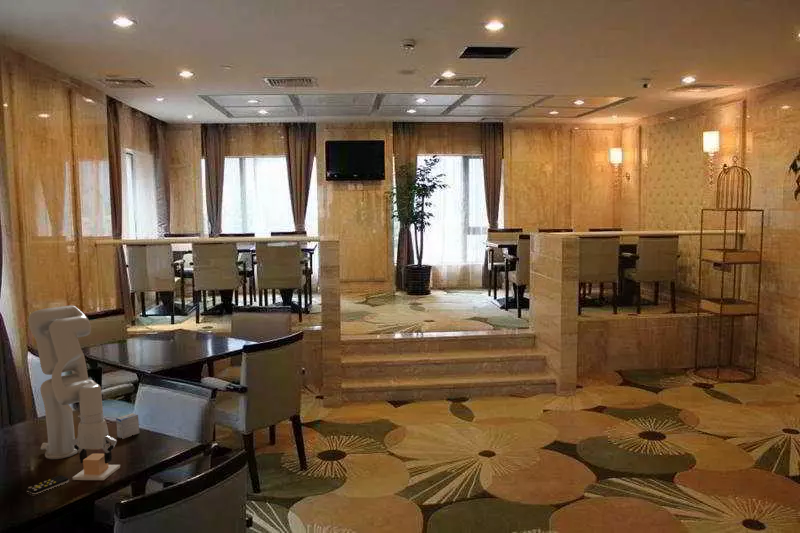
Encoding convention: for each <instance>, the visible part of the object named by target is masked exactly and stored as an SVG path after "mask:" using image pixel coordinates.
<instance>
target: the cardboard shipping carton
mask: <svg viewBox="0 0 800 533" xmlns="http://www.w3.org/2000/svg"><path fill="white" fill-rule="evenodd" d="M82 464H83V465H82V466H83V469H84V474H96V475H99V474H101V473H102V472H103V471H105V470H106V469H107V468H109V465H110V464H109V462H108V463H105V458H104V453H91V454H90V455H87V458H85V459H84V460H83V463H82Z"/></svg>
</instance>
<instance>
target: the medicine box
mask: <svg viewBox="0 0 800 533" xmlns="http://www.w3.org/2000/svg"><path fill="white" fill-rule="evenodd" d="M115 420H116V435H117V437H118V439H121V438H122V440H124V439H127V438H129V437H132V435H133V436H135V435H138V434H140V422H139V415H138V414H137V413H133V412H132V413H129V414H125V415H122V416H119V417H117V418H115Z"/></svg>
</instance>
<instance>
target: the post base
mask: <svg viewBox="0 0 800 533" xmlns="http://www.w3.org/2000/svg"><path fill="white" fill-rule="evenodd" d="M108 465H109V468H107V469H106V470H105V471H103V472H102V473H101V474H99V475H96V474H84V468H83V469H82V470H81V471H80V472H77V474H75V475H74V476H72V481H105V480H106V479H107V478H109V477H110V476H111V475H112V474H114V473H115V472H116V471H118V470H119V469H120V468H121V464H108Z"/></svg>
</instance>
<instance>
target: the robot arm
mask: <svg viewBox="0 0 800 533" xmlns="http://www.w3.org/2000/svg"><path fill="white" fill-rule="evenodd" d="M28 327H29V330H30V332H31V335H32V336H33V338H34V339H35V342H36V346H37V353H38V357H39V364H40V368H41V372H42V373H43V374H44V375H45V376H48V375H49V376H51V378H49V379H47V380H45V381H43V382H42V383H41V385H40V389H39V390H40V395H41V398H42V402H43V406H44V412H45V413H44V414H45V422H46V431H47V432H46V433H47V434H46V435H47V442H42V444H41V445H40V450H46V451H45V454H44V457H45V458H46V459H48V460H62V459H66V458H69V457H72V456H75V455H76V454H78V456H79V462H80V464H83V460H84V459H85V458H87V457H88V454H87V450H102V451H104V453H103V454H104V458H105V463H108V464H109V463H110V462H111V461H112V458H113V457H112V456H113V455H112V451H113V450H114V448H115V447H116V445H117V442H118V440H117V439H115V438H114V437H112V436H110V434H109V428H108V424H107V420H106V419H105V418H104V408H103V397H102V387H101V385H100V384H98V383H97V382H96V381H95V380H93V379H89V375H88V374H89V373H88V368H87V364H86V363H87V362H86V357H85V354H84V352H83V350H82V347H81V344H80V342H79V338H82V337H87V336H89V335H91V333H92V332H91V331H92V326H91V322H90V320H89V318H88V316H86V314H85V313H84V312H83V311H82V310H80V308H78V307H77V306H75V305H63V306H62V305H61V306H55V307H47V308H41V309H37V310H34V311H33V312H31V313H30V314H29V316H28ZM67 372H71V374H67V375H66V374H65V375H62V373H67ZM75 403H79V405H78V406H79V412H80V413H79V414H78V415H77V418H78V419H80V422H79V423H78V427H77V437H76V436H75V426H74V414H73V413H74V412H73V408H72V407H71V406H70V405H73V404H75Z"/></svg>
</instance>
